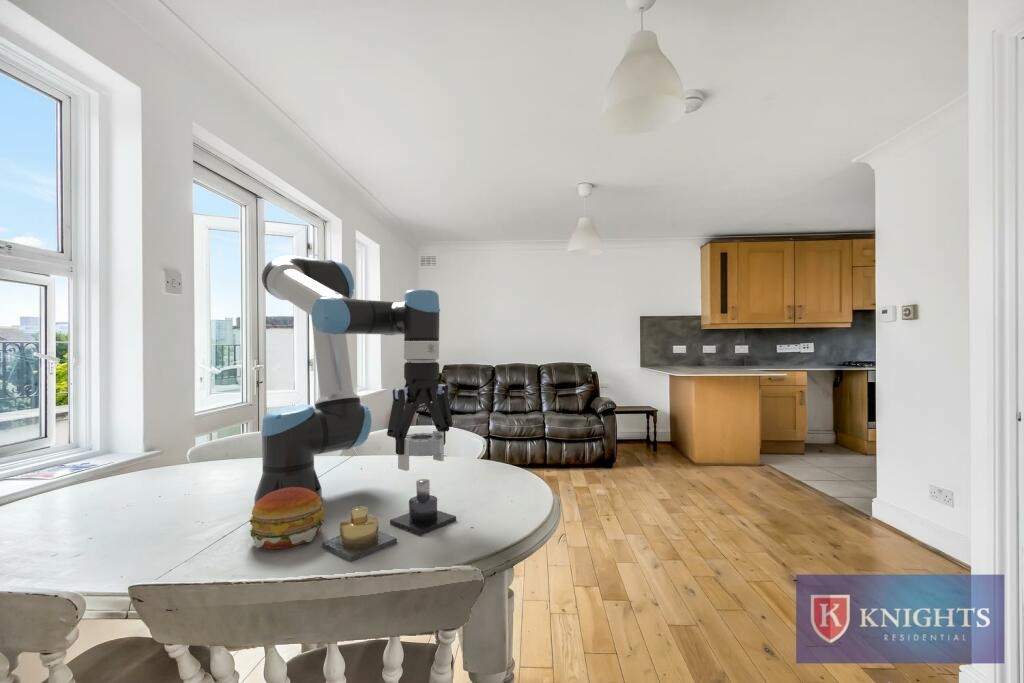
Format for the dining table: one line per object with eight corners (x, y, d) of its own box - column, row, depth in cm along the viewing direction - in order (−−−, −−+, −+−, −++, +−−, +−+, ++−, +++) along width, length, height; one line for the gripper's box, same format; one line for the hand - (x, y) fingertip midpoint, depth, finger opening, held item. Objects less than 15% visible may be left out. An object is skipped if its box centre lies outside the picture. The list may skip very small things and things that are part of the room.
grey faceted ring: (391, 451, 99) (391, 437, 99) (424, 444, 106) (424, 431, 106) (419, 458, 94) (419, 443, 94) (451, 450, 101) (451, 436, 101)
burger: (297, 522, 101) (297, 476, 101) (339, 534, 94) (338, 485, 94) (235, 545, 89) (234, 493, 90) (277, 561, 82) (276, 505, 83)
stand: (390, 524, 99) (389, 482, 99) (425, 511, 107) (425, 472, 107) (420, 535, 92) (420, 491, 93) (456, 520, 100) (455, 479, 100)
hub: (321, 547, 88) (321, 510, 88) (367, 530, 95) (366, 496, 96) (350, 562, 81) (350, 522, 82) (397, 543, 89) (396, 506, 89)
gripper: (390, 363, 89) (390, 479, 89) (469, 360, 106) (468, 457, 106) (368, 362, 94) (368, 472, 94) (446, 359, 111) (446, 452, 111)
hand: (421, 464), depth 100 cm, fingers closed on grey faceted ring, 9 cm apart
